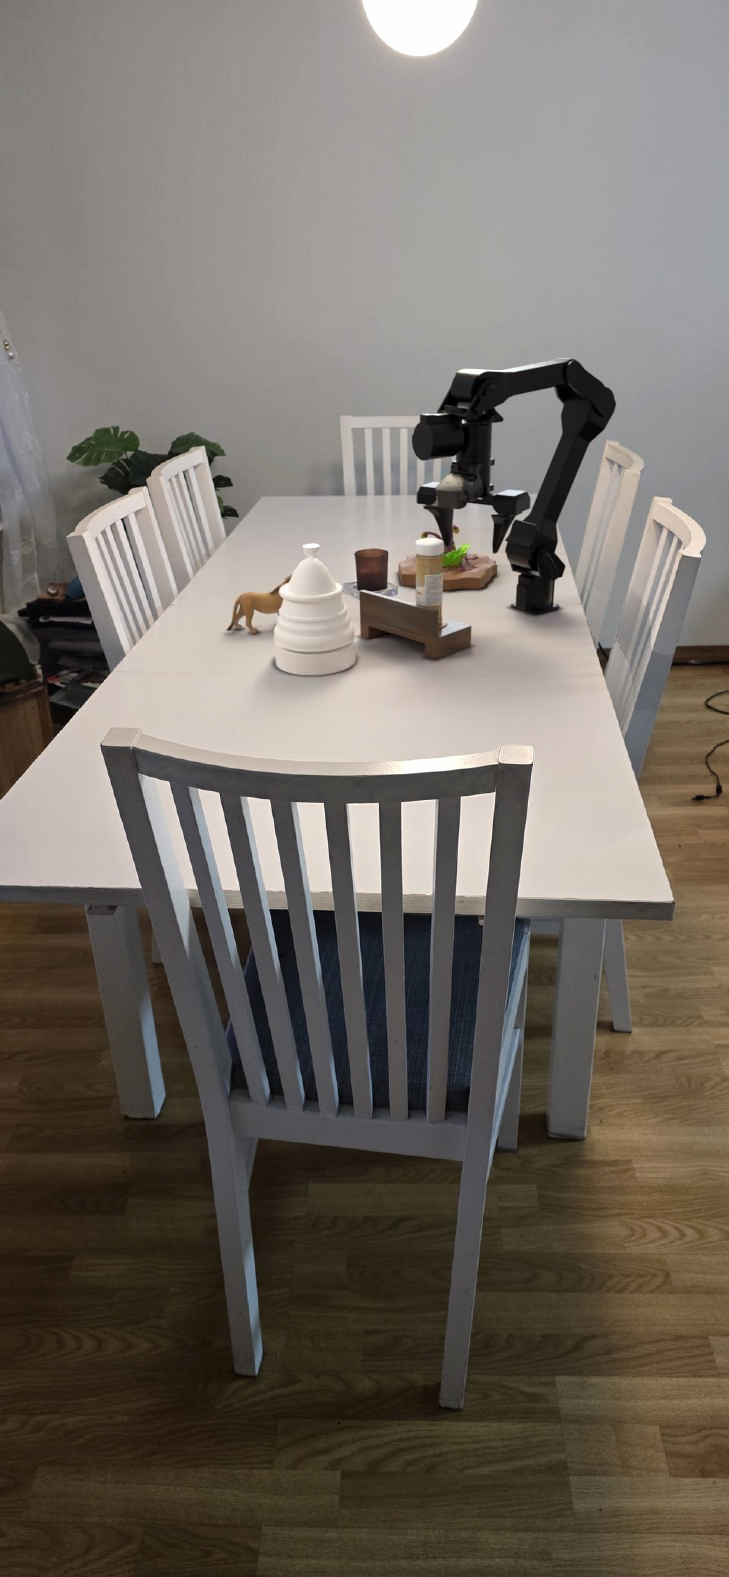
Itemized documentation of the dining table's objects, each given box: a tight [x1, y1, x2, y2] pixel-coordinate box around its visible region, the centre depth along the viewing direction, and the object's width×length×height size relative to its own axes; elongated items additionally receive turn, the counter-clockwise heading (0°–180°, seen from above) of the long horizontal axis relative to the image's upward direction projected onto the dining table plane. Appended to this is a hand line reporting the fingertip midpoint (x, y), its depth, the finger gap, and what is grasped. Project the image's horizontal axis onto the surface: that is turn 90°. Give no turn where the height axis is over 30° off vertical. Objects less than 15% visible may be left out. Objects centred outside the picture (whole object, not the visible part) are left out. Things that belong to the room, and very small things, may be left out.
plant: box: [398, 524, 498, 591], centre depth 197 cm, size 20×20×11 cm
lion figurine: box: [226, 573, 293, 634], centre depth 172 cm, size 15×5×9 cm, turn 110°
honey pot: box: [273, 543, 357, 676], centre depth 155 cm, size 13×13×18 cm
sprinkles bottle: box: [414, 537, 444, 623], centre depth 160 cm, size 5×5×14 cm
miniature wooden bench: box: [358, 589, 472, 661], centre depth 164 cm, size 9×17×8 cm, turn 44°
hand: (471, 549), depth 167 cm, fingers open, 9 cm apart
